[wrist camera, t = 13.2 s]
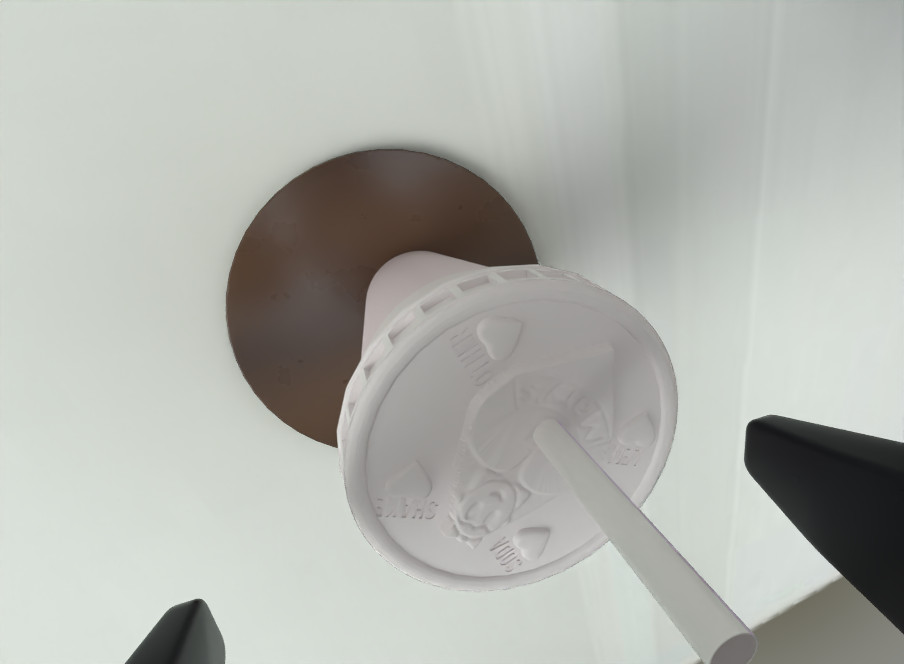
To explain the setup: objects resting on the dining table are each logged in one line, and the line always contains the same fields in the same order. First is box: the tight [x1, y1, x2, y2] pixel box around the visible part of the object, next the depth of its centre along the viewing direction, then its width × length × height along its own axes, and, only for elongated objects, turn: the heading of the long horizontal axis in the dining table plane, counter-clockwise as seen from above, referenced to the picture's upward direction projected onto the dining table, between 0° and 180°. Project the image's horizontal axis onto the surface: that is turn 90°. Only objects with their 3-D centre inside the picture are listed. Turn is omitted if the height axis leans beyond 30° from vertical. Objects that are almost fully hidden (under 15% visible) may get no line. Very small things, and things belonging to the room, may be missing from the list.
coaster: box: [226, 149, 538, 448], centre depth 18 cm, size 11×11×1 cm
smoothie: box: [337, 251, 758, 664], centre depth 11 cm, size 6×6×14 cm
